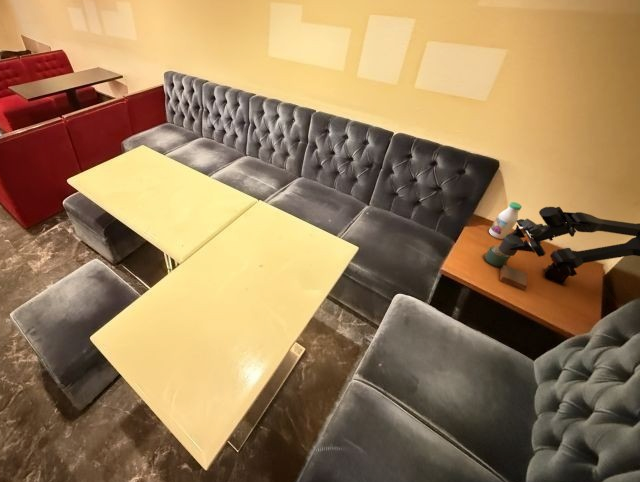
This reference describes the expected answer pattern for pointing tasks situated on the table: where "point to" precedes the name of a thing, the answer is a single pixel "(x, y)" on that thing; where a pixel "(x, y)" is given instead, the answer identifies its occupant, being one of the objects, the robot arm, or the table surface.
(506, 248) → the cap
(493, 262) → the green cylinder
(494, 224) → the milk bottle
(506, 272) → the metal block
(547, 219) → the robot arm
